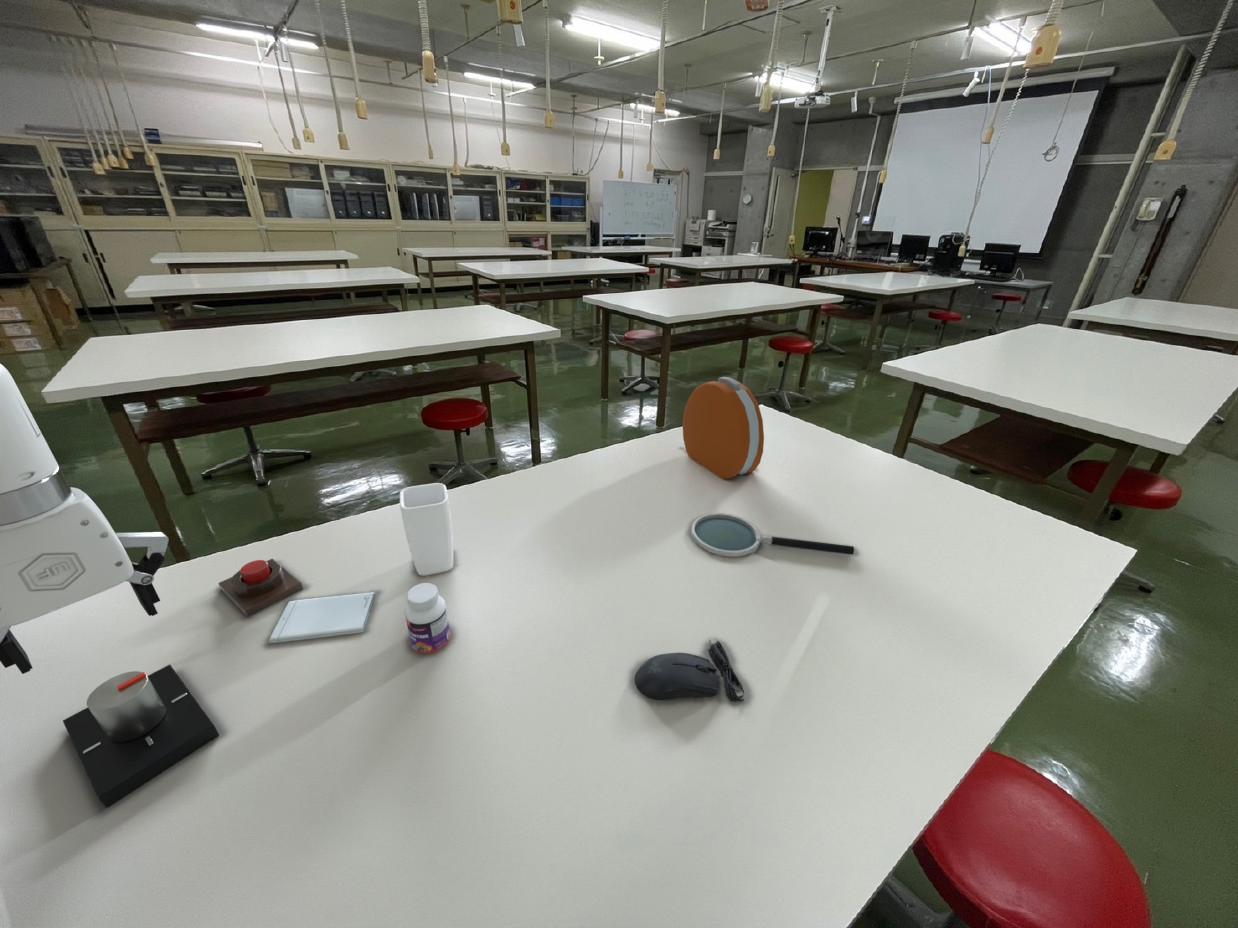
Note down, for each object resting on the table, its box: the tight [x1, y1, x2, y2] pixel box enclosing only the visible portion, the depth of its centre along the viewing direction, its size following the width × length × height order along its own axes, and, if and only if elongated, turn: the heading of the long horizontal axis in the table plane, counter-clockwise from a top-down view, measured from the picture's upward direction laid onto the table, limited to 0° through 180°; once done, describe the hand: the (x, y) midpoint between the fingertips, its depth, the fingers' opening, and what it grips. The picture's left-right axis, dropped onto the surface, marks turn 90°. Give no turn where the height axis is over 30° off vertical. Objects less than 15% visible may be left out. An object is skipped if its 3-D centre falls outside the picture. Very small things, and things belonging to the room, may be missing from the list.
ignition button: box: [239, 559, 270, 583], centre depth 79 cm, size 4×4×2 cm
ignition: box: [217, 558, 304, 618], centre depth 80 cm, size 10×8×4 cm
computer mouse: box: [634, 637, 745, 703], centre depth 68 cm, size 10×15×4 cm
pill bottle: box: [404, 582, 451, 654], centre depth 71 cm, size 5×5×10 cm
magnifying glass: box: [690, 512, 855, 558], centre depth 97 cm, size 13×31×2 cm, turn 81°
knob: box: [86, 670, 166, 742], centre depth 56 cm, size 5×5×6 cm
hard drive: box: [268, 591, 376, 644], centre depth 76 cm, size 2×8×12 cm
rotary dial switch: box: [62, 664, 220, 809], centre depth 58 cm, size 14×10×3 cm
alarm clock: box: [682, 376, 765, 480], centre depth 123 cm, size 22×10×23 cm, turn 30°
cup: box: [399, 482, 454, 576], centre depth 85 cm, size 7×7×15 cm
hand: (91, 635), depth 52 cm, fingers open, 9 cm apart
